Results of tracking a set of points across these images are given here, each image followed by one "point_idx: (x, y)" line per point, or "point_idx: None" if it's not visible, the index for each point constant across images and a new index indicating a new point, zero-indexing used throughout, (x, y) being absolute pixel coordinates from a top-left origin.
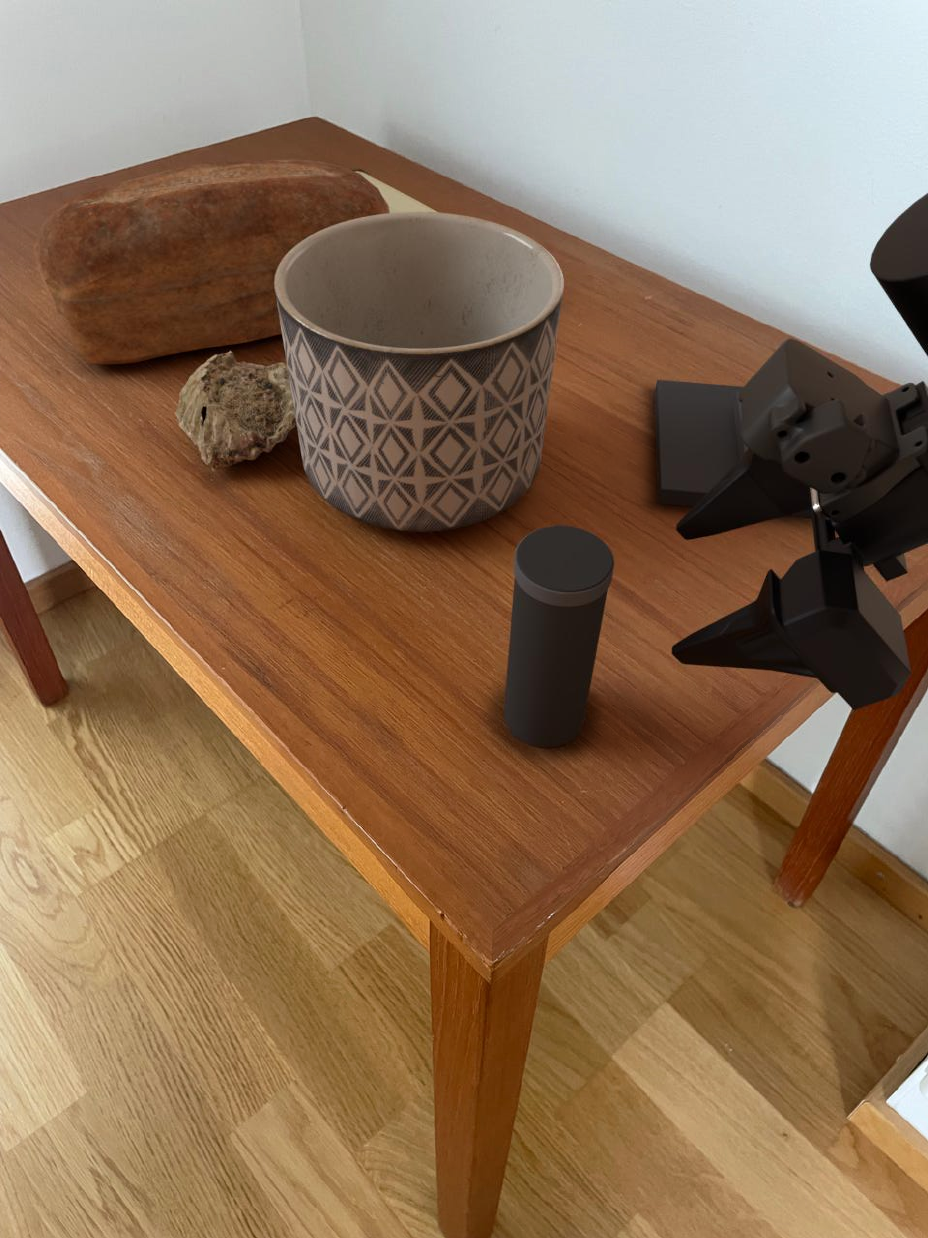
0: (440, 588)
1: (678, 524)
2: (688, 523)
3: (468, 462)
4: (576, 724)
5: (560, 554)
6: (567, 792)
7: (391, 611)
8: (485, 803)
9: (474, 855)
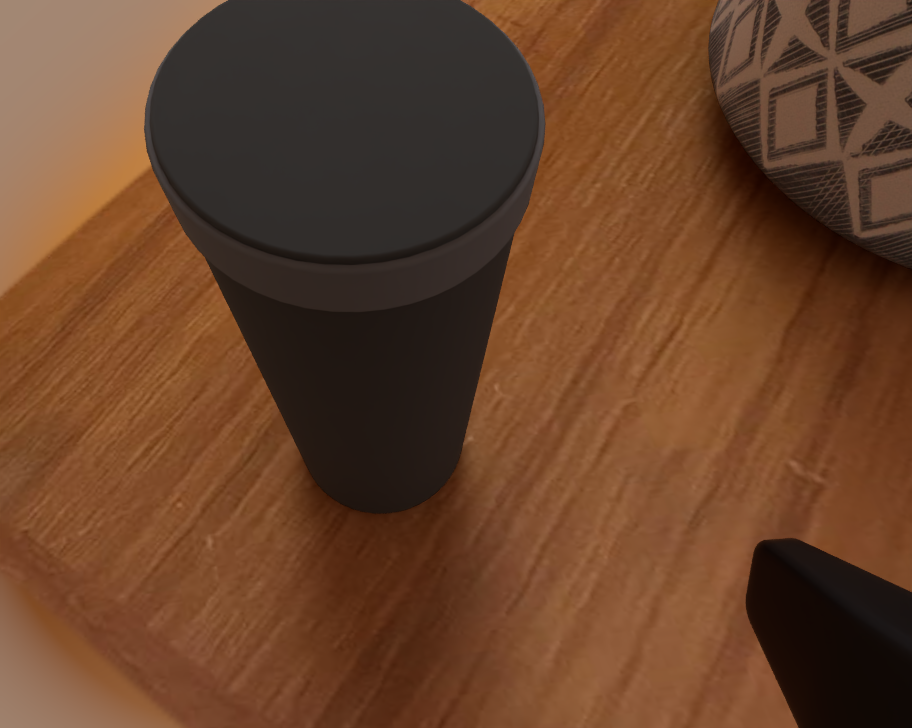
0: (632, 207)
1: (783, 543)
2: (795, 588)
3: (886, 57)
4: (332, 489)
5: (358, 84)
6: (203, 510)
7: (548, 150)
8: (160, 370)
9: (48, 374)
